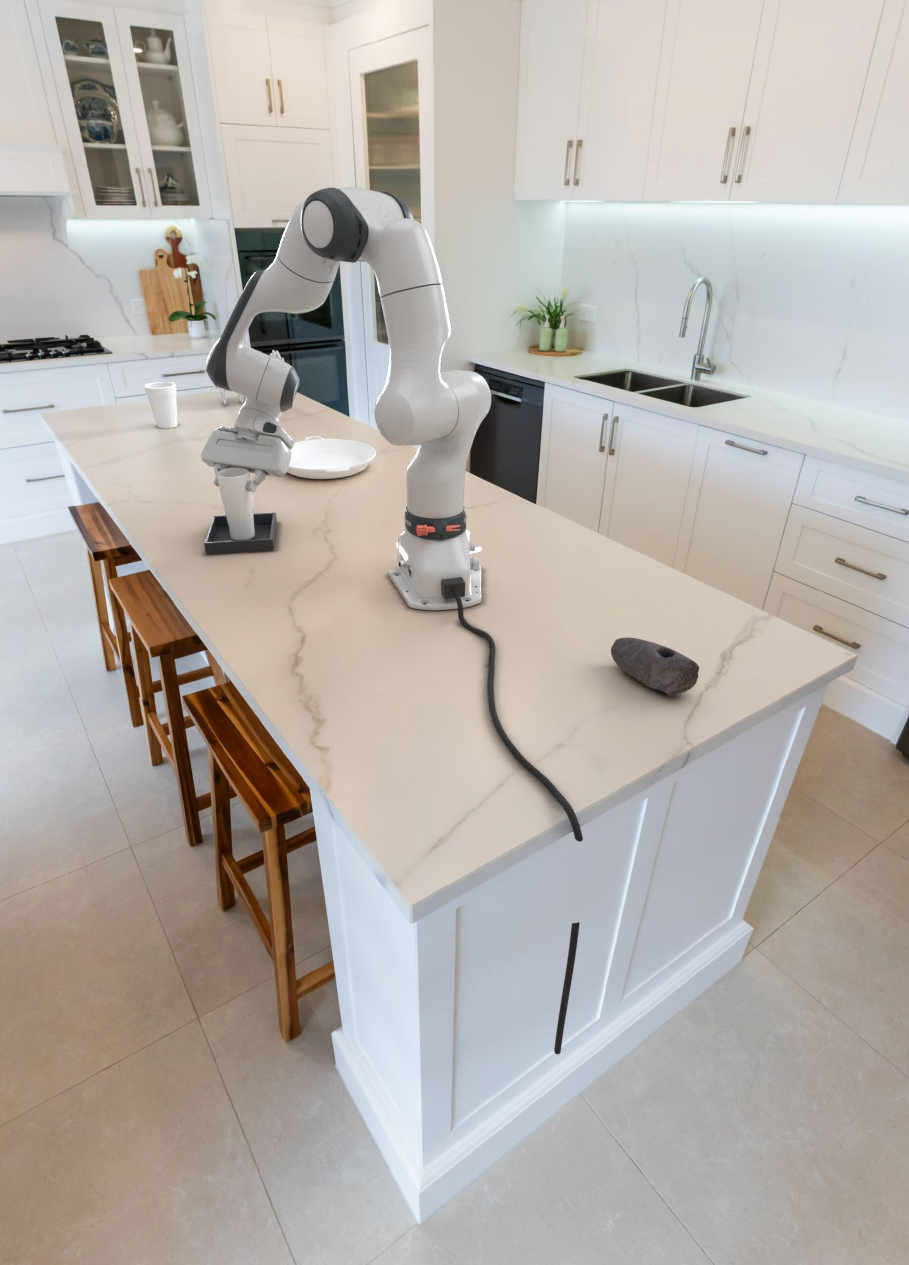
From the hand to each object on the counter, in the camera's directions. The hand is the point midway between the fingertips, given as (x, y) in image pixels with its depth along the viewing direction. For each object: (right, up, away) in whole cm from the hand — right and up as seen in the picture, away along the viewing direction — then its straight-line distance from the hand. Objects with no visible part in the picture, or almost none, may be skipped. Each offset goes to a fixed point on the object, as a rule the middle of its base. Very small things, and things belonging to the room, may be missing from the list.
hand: (234, 488), depth 158 cm
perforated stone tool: (+78, -39, -40) cm, 96 cm away
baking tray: (0, -10, +7) cm, 12 cm away
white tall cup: (0, -10, +7) cm, 12 cm away
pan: (+11, +16, +50) cm, 54 cm away
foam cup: (-47, +37, +85) cm, 104 cm away
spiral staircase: (-28, +54, +114) cm, 129 cm away
